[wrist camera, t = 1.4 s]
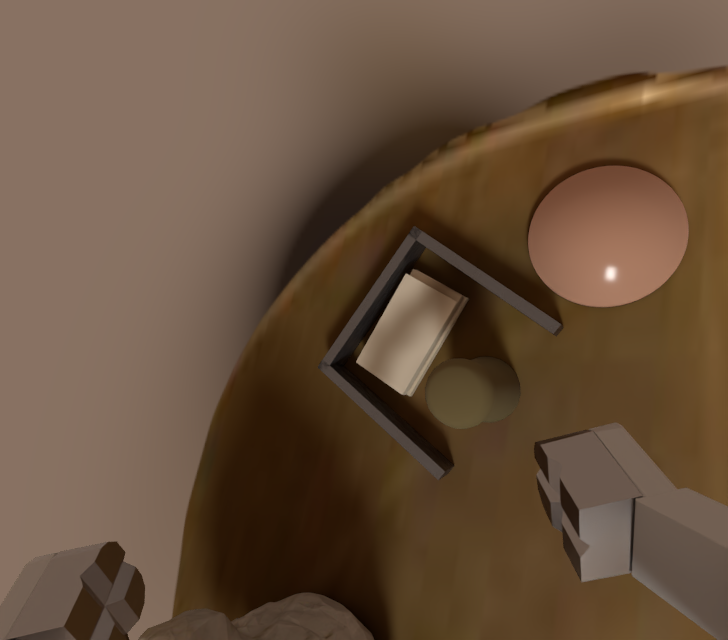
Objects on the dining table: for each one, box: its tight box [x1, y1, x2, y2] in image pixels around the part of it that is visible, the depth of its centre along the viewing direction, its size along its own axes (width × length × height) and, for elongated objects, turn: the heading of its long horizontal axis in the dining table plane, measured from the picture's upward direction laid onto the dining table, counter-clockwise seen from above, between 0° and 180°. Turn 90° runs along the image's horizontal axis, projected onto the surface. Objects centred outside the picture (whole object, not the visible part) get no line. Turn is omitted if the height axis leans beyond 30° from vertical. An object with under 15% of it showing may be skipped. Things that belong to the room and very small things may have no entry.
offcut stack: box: [356, 269, 469, 396], centre depth 47 cm, size 6×11×3 cm, turn 148°
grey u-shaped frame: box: [318, 226, 563, 480], centre depth 45 cm, size 16×17×3 cm
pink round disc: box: [528, 166, 689, 308], centre depth 40 cm, size 12×12×1 cm
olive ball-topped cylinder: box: [425, 356, 520, 429], centre depth 39 cm, size 6×6×11 cm
